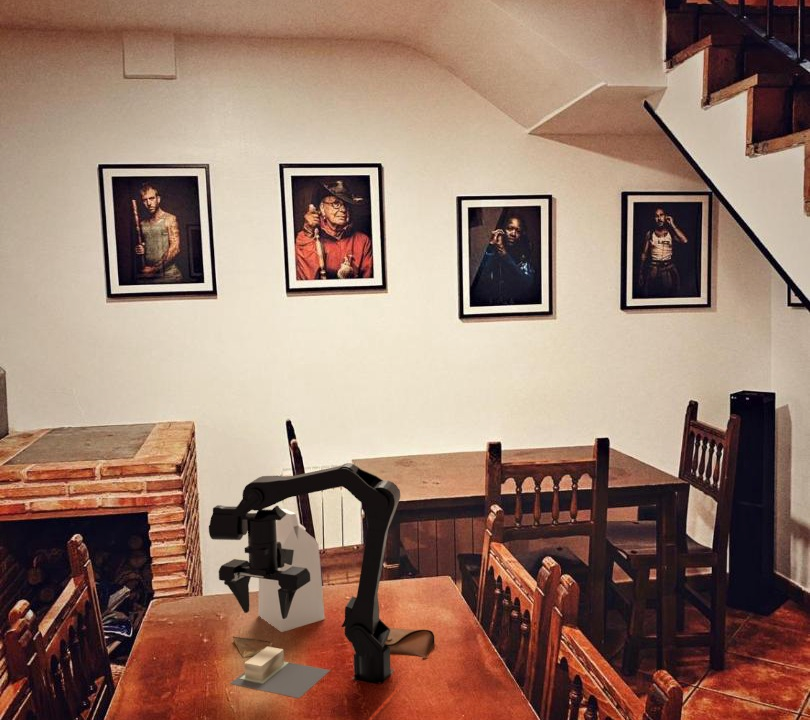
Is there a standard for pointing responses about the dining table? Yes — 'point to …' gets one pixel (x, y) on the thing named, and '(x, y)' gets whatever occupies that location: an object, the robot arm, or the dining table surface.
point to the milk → (306, 598)
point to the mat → (285, 680)
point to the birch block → (264, 663)
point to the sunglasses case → (410, 642)
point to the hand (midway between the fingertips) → (265, 615)
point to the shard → (250, 646)
